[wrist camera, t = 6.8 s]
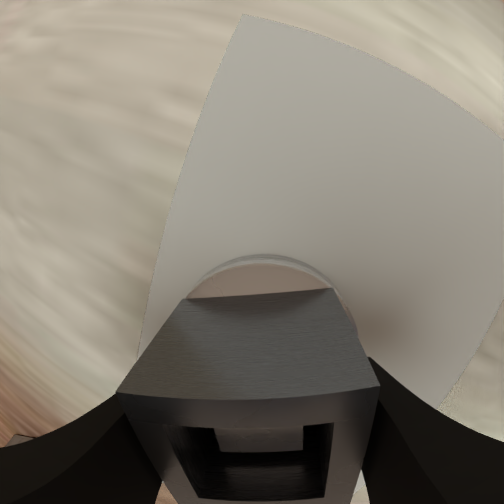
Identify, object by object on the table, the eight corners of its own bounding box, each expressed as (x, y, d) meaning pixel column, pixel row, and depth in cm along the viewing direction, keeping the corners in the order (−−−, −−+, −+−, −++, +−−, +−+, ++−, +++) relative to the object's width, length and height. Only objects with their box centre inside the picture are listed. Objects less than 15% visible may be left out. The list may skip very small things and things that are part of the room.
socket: (332, 287, 9) (380, 385, 4) (330, 401, 10) (349, 504, 6) (182, 298, 10) (115, 391, 5) (207, 407, 11) (179, 505, 6)
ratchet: (350, 245, 10) (404, 296, 6) (330, 496, 15) (335, 550, 10) (164, 261, 11) (98, 316, 6) (232, 500, 15) (223, 553, 10)
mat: (535, 175, 9) (541, 176, 9) (327, 509, 16) (328, 513, 15) (243, 19, 9) (242, 14, 8) (127, 463, 16) (125, 467, 15)
